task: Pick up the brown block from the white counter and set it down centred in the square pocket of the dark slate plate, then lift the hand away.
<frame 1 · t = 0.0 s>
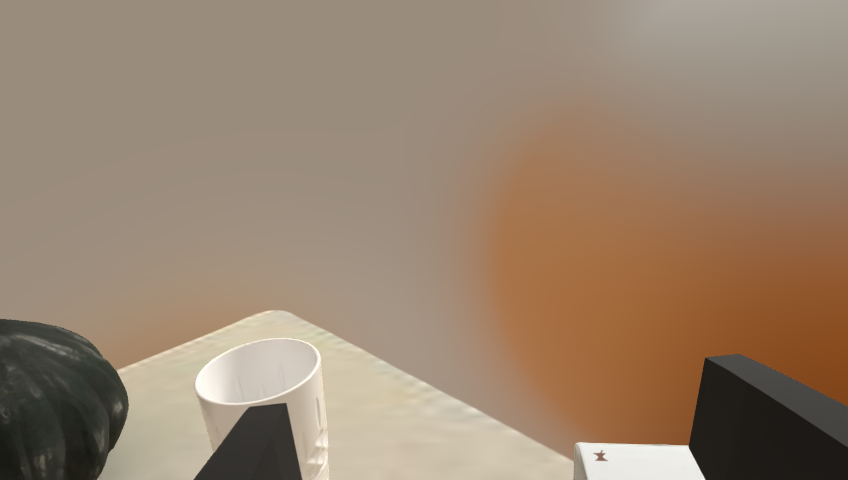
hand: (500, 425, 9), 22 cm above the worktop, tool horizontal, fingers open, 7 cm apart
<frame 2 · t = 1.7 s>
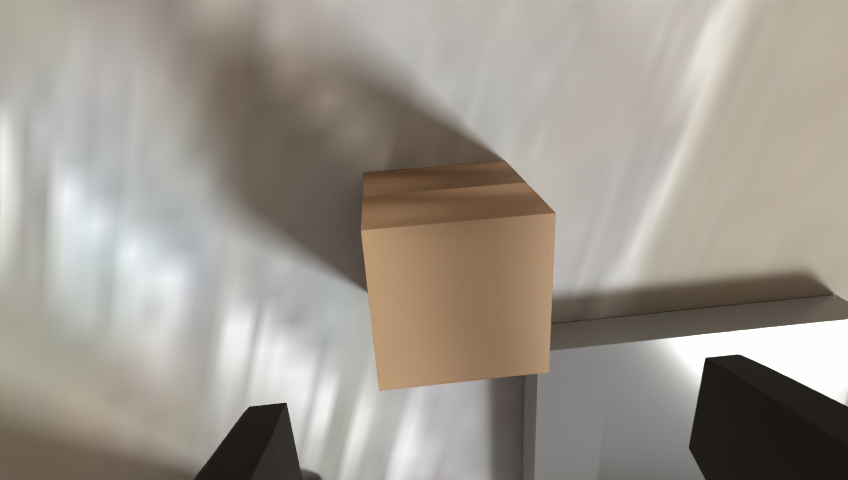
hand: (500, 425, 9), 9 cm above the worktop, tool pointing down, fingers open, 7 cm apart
brown block: (438, 231, 17), on the worktop
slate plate: (663, 434, 22), on the worktop
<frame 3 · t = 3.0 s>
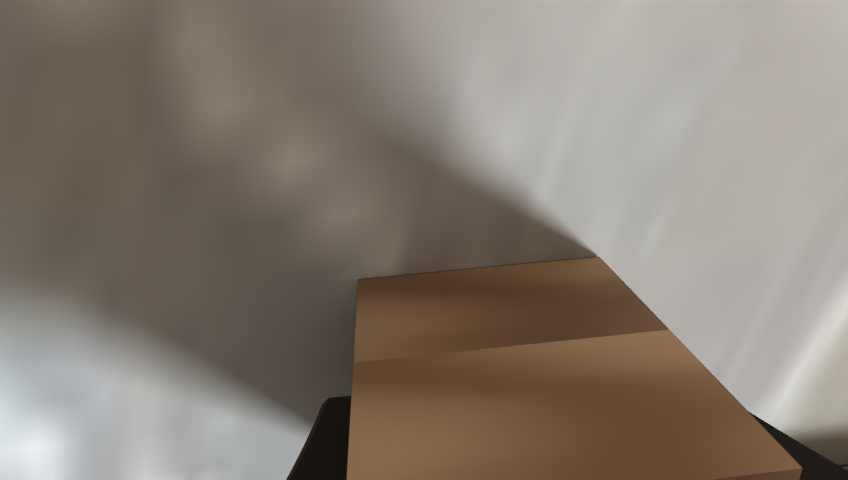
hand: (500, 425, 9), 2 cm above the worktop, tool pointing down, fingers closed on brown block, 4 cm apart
brown block: (482, 368, 10), on the worktop, touching gripper
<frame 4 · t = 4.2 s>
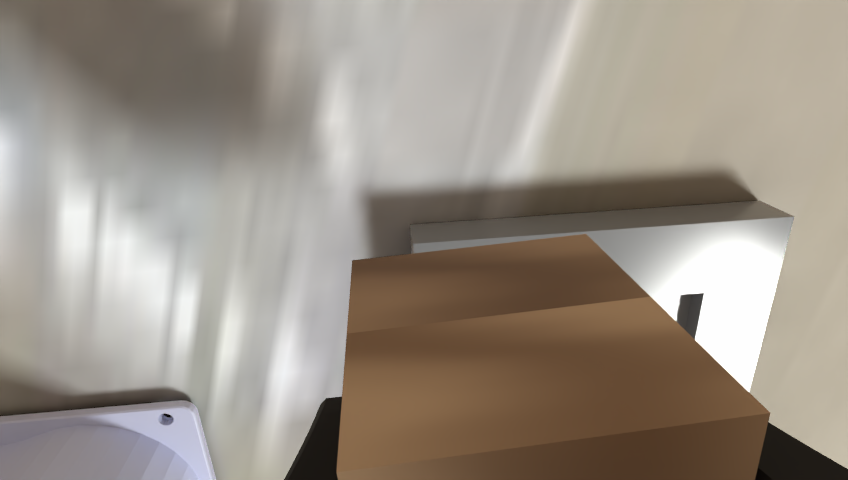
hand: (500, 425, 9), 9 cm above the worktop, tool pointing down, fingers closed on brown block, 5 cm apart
brown block: (475, 346, 11), point 7 cm above the worktop, touching gripper
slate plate: (575, 360, 20), on the worktop
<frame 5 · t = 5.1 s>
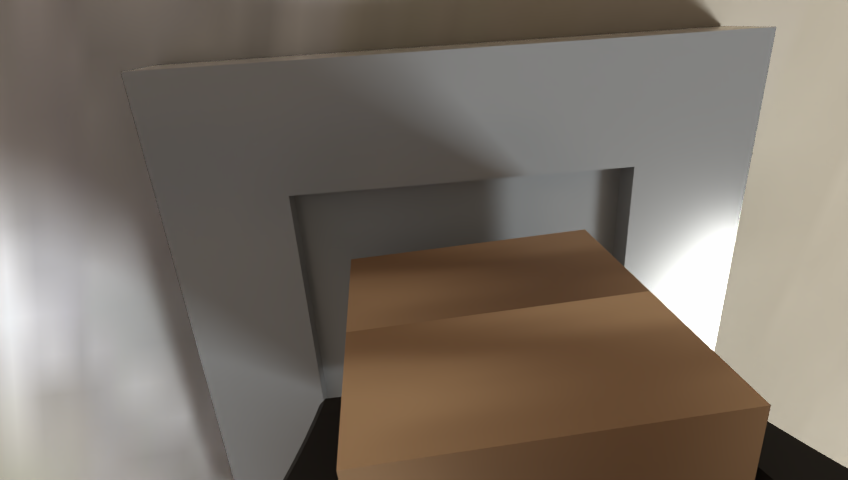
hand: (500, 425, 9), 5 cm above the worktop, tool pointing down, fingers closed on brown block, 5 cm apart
brown block: (475, 343, 11), point 3 cm above the worktop, touching gripper
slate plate: (458, 295, 13), on the worktop
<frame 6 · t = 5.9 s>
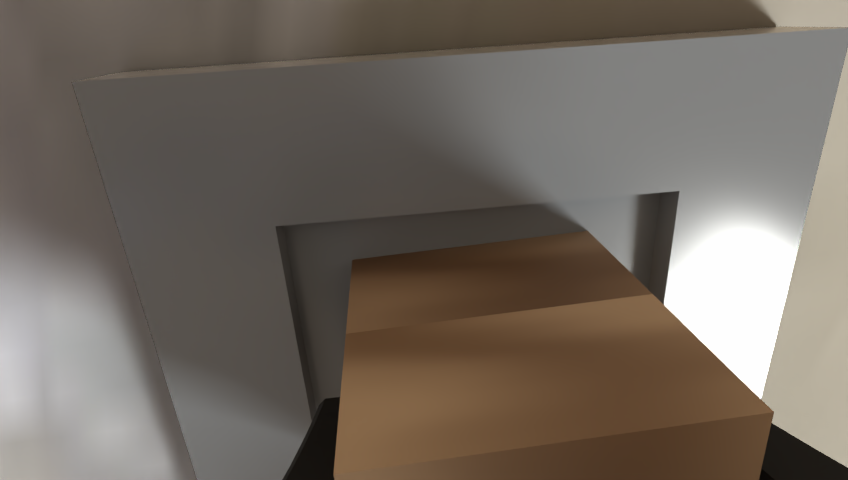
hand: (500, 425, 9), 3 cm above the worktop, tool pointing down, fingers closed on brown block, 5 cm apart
brown block: (477, 344, 11), point 1 cm above the worktop, touching gripper, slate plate
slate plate: (470, 330, 12), on the worktop
when the fingers open (3 cm above the worktop, at t = 5.9 s): brown block stays where it is, resting on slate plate.
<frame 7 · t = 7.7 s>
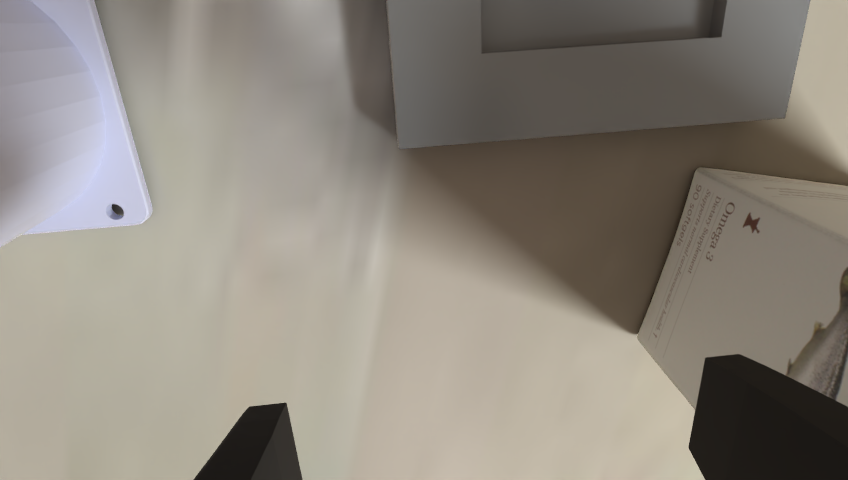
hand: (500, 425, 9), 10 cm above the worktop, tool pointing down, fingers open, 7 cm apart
supplement box: (741, 263, 20), on the worktop
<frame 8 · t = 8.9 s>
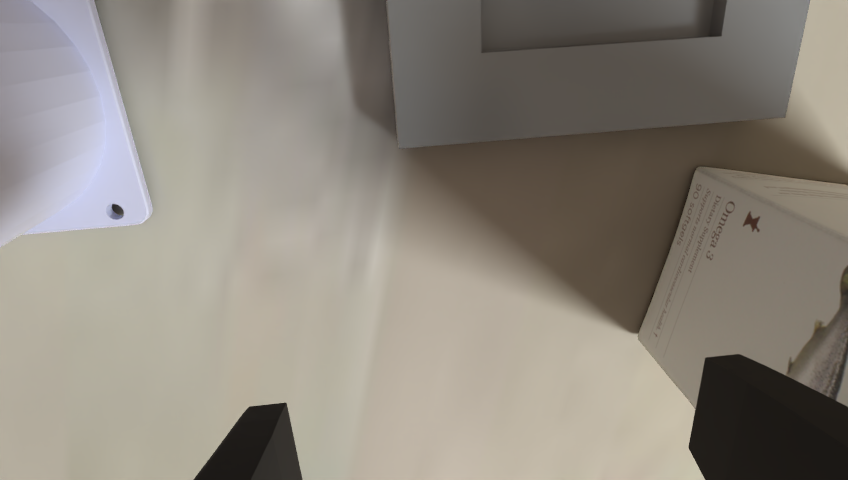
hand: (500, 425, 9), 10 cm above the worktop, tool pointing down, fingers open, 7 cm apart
supplement box: (741, 262, 20), on the worktop
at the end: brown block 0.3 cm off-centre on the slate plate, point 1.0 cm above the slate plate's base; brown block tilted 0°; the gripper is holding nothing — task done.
